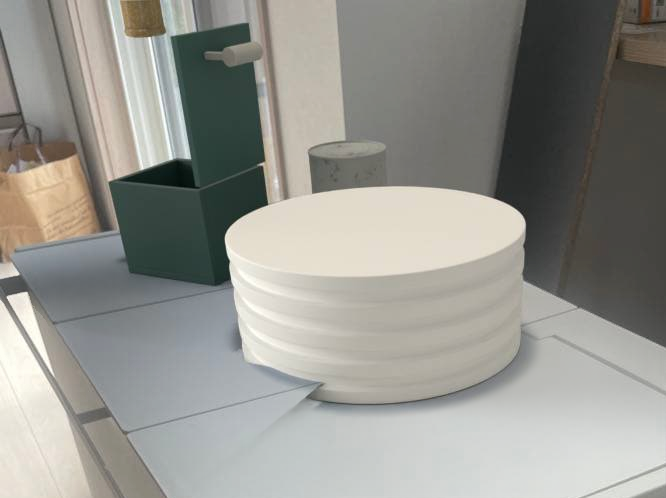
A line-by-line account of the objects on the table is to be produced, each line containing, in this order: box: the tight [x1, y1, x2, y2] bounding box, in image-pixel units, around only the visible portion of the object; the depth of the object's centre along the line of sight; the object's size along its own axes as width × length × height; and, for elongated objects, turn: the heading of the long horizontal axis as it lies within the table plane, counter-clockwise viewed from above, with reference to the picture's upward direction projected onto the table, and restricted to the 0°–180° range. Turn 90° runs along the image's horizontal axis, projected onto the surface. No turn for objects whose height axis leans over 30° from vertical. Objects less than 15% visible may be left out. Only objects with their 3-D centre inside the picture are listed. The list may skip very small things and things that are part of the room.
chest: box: [107, 157, 269, 287], centre depth 104 cm, size 14×13×11 cm
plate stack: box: [225, 185, 527, 405], centre depth 82 cm, size 28×28×12 cm
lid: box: [169, 22, 266, 187], centre depth 93 cm, size 14×13×5 cm
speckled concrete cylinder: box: [307, 139, 388, 194], centre depth 105 cm, size 10×10×12 cm
